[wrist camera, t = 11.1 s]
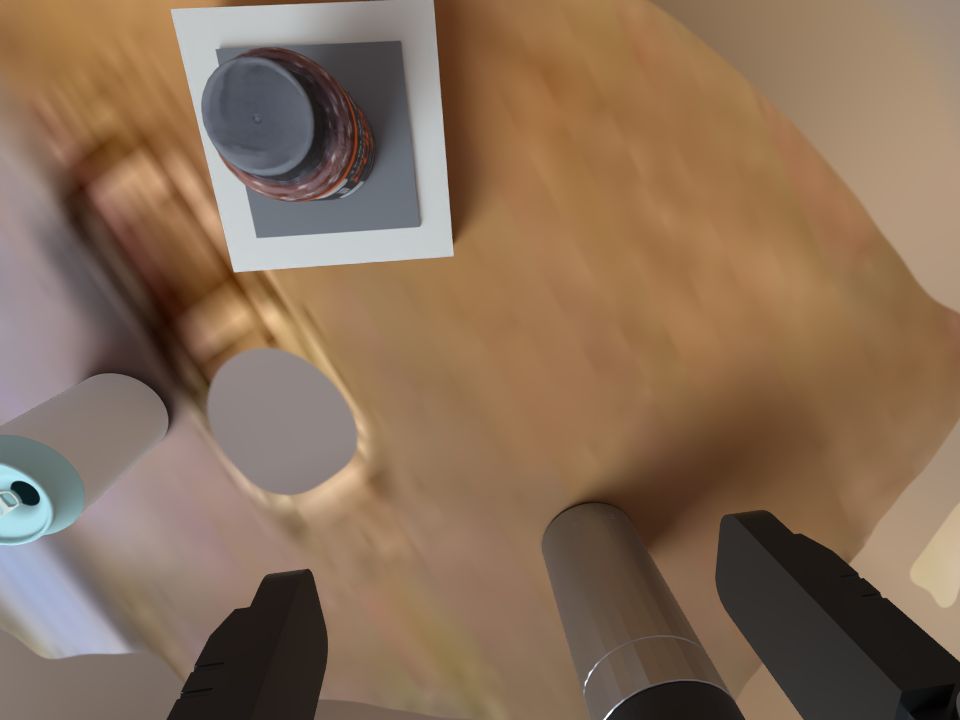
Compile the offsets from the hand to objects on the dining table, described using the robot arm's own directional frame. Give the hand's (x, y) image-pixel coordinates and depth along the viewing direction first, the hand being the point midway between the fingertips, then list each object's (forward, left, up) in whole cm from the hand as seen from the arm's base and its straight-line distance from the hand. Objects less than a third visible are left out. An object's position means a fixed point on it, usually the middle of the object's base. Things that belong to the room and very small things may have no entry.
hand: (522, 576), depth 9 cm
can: (-8, +27, -30) cm, 41 cm away
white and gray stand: (+10, +7, -29) cm, 32 cm away
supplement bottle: (+10, +7, -24) cm, 27 cm away
